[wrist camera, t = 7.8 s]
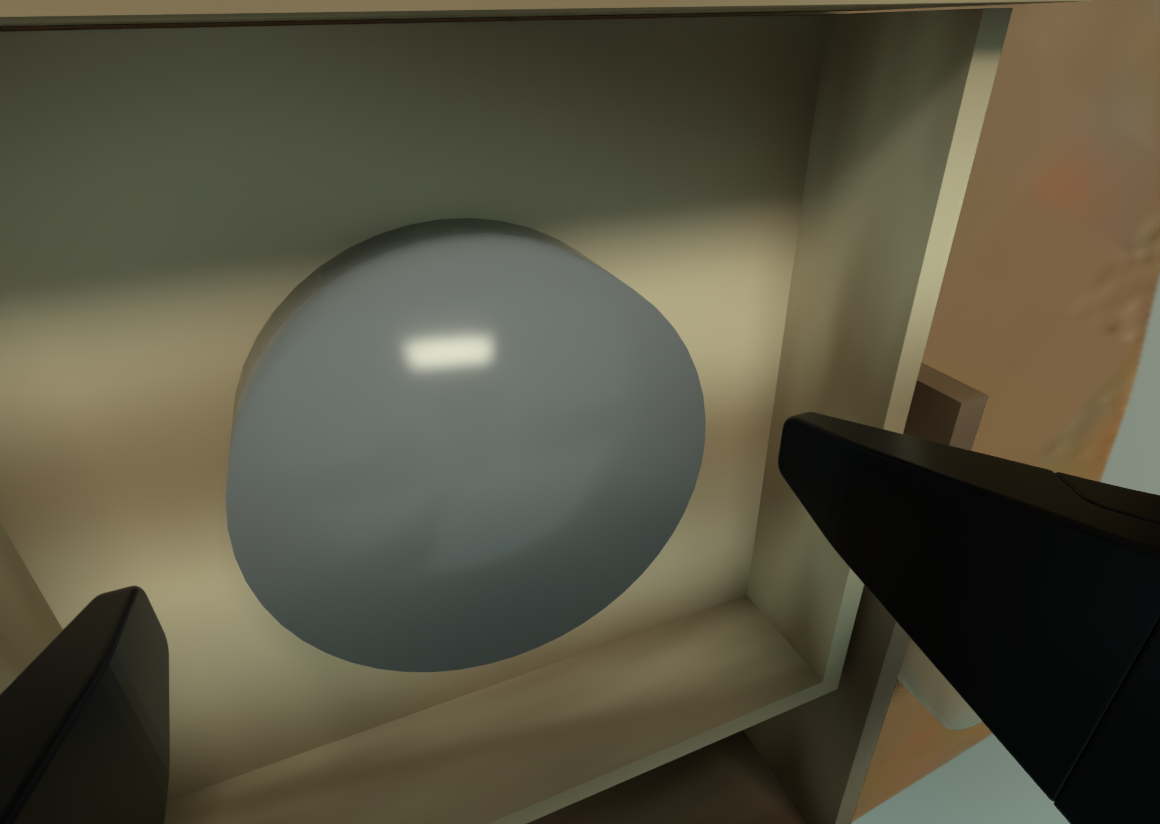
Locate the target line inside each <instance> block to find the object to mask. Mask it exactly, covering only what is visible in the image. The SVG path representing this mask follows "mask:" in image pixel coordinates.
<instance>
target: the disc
mask: <svg viewBox="0 0 1160 824" xmlns="http://www.w3.org/2000/svg"><path fill="white" fill-rule="evenodd" d="M705 426H706V416H705V407H704V397H703V392H702V388H701V384H700V380H699V377H698V373H697V370H696V367H695V365H694V363H693V361H692V358H691V356H690V354H689V351H688V349H687V347H686V346H685V344H684V343H683V341H682V339H681V338H680V336H679V335H678V333H677V332H676V330H675V328H674V327H673V326H672V325H671V324H670V323H669V321H668V320H667V319H666V318H665V317H664V316H663V315H662V314H661V312H660V311H659V310H658V309H657V308H656V307H655V306H654V305H652V304H651V303H650V302H649V301H647V300H646V299H645V298H644V297H642V296H641V295H640V294H639V293H637V292H636V291H635V290H634V289H632V288H631V287H629V286H628V285H626V284H625V283H624V282H622V281H621V280H619V279H618V278H616V277H615V276H613V275H612V274H611V273H609V272H608V271H606V270H605V269H603V268H602V267H601V266H599V265H598V264H596V263H595V262H593V261H592V260H590V259H589V258H588V257H586V256H585V255H583V254H582V253H580V252H579V251H577V250H575V249H574V248H572V247H570V246H569V245H567V244H565V243H563V242H562V241H560V240H558V239H557V238H554V237H552V236H549V235H547V234H544V233H542V232H539V231H537V230H534V229H532V228H529V227H524V226H520V225H516V224H512V223H508V222H504V221H496V220H486V219H476V218H461V219H440V220H434V221H428V222H422V223H416V224H410V225H407V226H403V227H400V228H397V229H394V230H391V231H387V232H384V233H381V234H378V235H376V236H373V237H371V238H369V239H367V240H365V241H363V242H361V243H358V244H356V245H354V246H352V247H350V248H348V249H346V250H345V251H343V252H341V253H340V254H338V255H337V256H335V257H333V258H332V259H330V260H329V261H327V262H326V263H324V264H323V265H321V266H320V267H318V268H317V269H316V270H315V271H314V272H312V273H311V274H310V275H309V276H308V277H307V278H305V279H304V280H303V281H302V282H301V283H300V284H298V285H297V286H296V287H295V288H294V289H293V290H292V291H291V292H290V293H289V295H288V296H287V297H286V298H285V299H284V300H283V301H282V302H281V304H280V305H279V306H278V307H277V308H276V309H275V310H274V312H273V313H272V314H271V316H270V317H269V319H268V321H267V322H266V324H265V325H264V327H263V328H262V330H261V331H260V333H259V334H258V336H257V337H256V339H255V341H254V343H253V346H252V348H251V350H250V352H249V354H248V357H247V359H246V361H245V363H244V365H243V368H242V372H241V376H240V379H239V383H238V386H237V390H236V393H235V401H234V410H233V419H232V430H231V441H230V453H229V464H228V476H227V487H226V513H227V528H228V532H229V536H230V540H231V544H232V548H233V552H234V556H235V559H236V561H237V563H238V565H239V568H240V570H241V572H242V574H243V576H244V579H245V581H246V583H247V584H248V586H249V587H250V589H251V590H252V591H253V593H254V594H255V596H256V597H257V599H258V600H259V602H260V603H261V605H262V606H263V607H264V608H265V609H266V610H267V611H268V612H269V613H270V614H271V615H272V616H273V617H274V618H275V619H276V620H277V621H278V622H279V623H280V624H281V625H282V626H284V627H285V628H286V629H288V630H289V631H290V632H292V633H293V634H294V635H296V636H297V637H298V638H300V639H301V640H302V641H304V642H306V643H308V644H310V645H312V646H314V647H316V648H317V649H319V650H321V651H323V652H325V653H327V654H330V655H332V656H335V657H338V658H340V659H343V660H346V661H349V662H351V663H355V664H359V665H364V666H368V667H372V668H376V669H384V670H392V671H401V672H441V671H452V670H461V669H466V668H472V667H477V666H482V665H487V664H491V663H494V662H498V661H501V660H505V659H508V658H512V657H515V656H517V655H520V654H523V653H525V652H528V651H531V650H533V649H536V648H538V647H540V646H542V645H544V644H547V643H549V642H551V641H553V640H555V639H557V638H559V637H561V636H563V635H565V634H566V633H568V632H570V631H571V630H573V629H575V628H576V627H578V626H580V625H582V624H583V623H585V622H586V621H588V620H589V619H590V618H592V617H593V616H595V615H596V614H598V613H599V612H600V611H602V610H603V609H605V608H606V607H607V606H608V605H609V604H611V603H612V602H613V601H614V600H615V599H617V598H618V597H619V596H620V595H621V594H623V593H624V592H625V591H626V590H627V589H628V588H629V587H630V586H631V585H632V584H633V583H634V582H635V581H636V580H637V579H638V578H639V577H640V576H641V575H642V574H643V573H644V571H645V570H646V569H647V568H648V567H649V565H650V564H651V563H652V562H653V561H654V559H655V558H656V557H657V556H658V555H659V553H660V552H661V550H662V549H663V547H664V546H665V545H666V543H667V542H668V540H669V539H670V537H671V536H672V534H673V533H674V531H675V529H676V527H677V525H678V524H679V522H680V520H681V518H682V516H683V514H684V513H685V510H686V508H687V506H688V503H689V501H690V499H691V496H692V494H693V491H694V489H695V485H696V482H697V478H698V475H699V472H700V468H701V464H702V457H703V451H704V445H705Z"/></svg>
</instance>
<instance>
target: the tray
mask: <svg viewBox="0 0 1160 824" xmlns="http://www.w3.org/2000/svg"><path fill="white" fill-rule="evenodd" d="M1077 1H1094V0H0V27H24V26H78V25H131V24H184V23H237V22H290V21H343V20H396V19H449V18H503V17H556V16H609V15H662V14H715V13H768V12H821V11H867V10H890V9H914V8H937V7H960V6H984V5H1007V4H1030V3H1053V2H1077ZM1012 9H1013V8H984V9H958V10H932V11H906V12H880V13H855V14H829V15H781V16H732V17H684V18H636V19H588V20H540V21H491V22H443V23H395V24H347V25H298V26H250V27H202V28H154V29H105V30H57V31H9V32H0V694H1V693H2V692H3V691H4V690H5V689H6V688H7V687H8V686H9V685H10V684H11V683H12V682H13V681H14V680H15V679H16V678H17V677H18V676H19V674H20V673H21V672H22V671H23V670H24V669H25V668H26V667H27V666H28V665H29V664H30V663H31V662H32V661H33V660H34V659H35V658H36V657H37V656H38V655H39V654H40V653H41V652H42V651H43V650H44V649H45V648H46V647H47V646H48V645H49V644H50V643H51V642H52V641H53V640H54V639H55V638H56V637H57V635H58V634H59V633H60V632H61V631H62V630H63V629H64V628H65V627H66V626H67V625H68V624H69V623H70V622H71V621H72V620H73V619H74V618H75V617H76V616H77V615H78V614H79V613H80V612H81V611H82V610H83V609H84V608H85V607H86V606H87V605H88V604H89V603H90V602H91V601H92V600H93V599H94V598H95V597H96V596H98V595H100V594H102V593H106V592H110V591H114V590H117V589H121V588H125V587H129V586H134V585H135V586H139V587H141V588H142V589H143V590H144V591H145V593H146V595H147V597H148V599H149V601H150V603H151V605H152V607H153V609H154V611H155V614H156V616H157V618H158V620H159V622H160V624H161V626H162V628H163V631H164V633H165V635H166V639H167V643H168V649H169V712H170V775H169V786H168V797H167V805H166V813H165V822H164V824H527V823H529V822H531V821H534V820H536V819H538V818H541V817H543V816H545V815H548V814H550V813H552V812H554V811H557V810H559V809H561V808H564V807H566V806H568V805H571V804H573V803H575V802H578V801H580V800H582V799H585V798H587V797H589V796H591V795H594V794H596V793H598V792H601V791H603V790H605V789H608V788H610V787H612V786H615V785H617V784H619V783H622V782H624V781H626V780H628V779H631V778H633V777H635V776H638V775H640V774H642V773H645V772H647V771H649V770H652V769H654V768H656V767H659V766H661V765H663V764H665V763H668V762H670V761H672V760H675V759H677V758H679V757H682V756H684V755H686V754H689V753H691V752H693V751H696V750H698V749H700V748H702V747H705V746H707V745H709V744H712V743H714V742H716V741H719V740H721V739H723V738H726V737H728V736H730V735H732V734H735V733H737V732H739V731H742V730H744V729H746V728H749V727H751V726H753V725H756V724H758V723H760V722H763V721H765V720H767V719H769V718H772V717H774V716H776V715H779V714H781V713H783V712H786V711H788V710H790V709H793V708H795V707H797V706H800V705H802V704H804V703H806V702H809V701H811V700H813V699H816V698H818V697H820V696H823V695H825V694H827V693H830V692H832V691H834V690H837V688H838V684H839V680H840V676H841V672H842V668H843V665H844V661H845V657H846V653H847V649H848V645H849V641H850V637H851V634H852V630H853V626H854V622H855V618H856V614H857V610H858V606H859V602H860V599H861V595H862V591H863V587H864V584H863V582H862V581H861V580H860V579H859V578H858V577H857V575H856V574H855V573H854V572H853V571H852V570H851V569H850V567H849V566H848V565H847V564H846V563H845V562H844V560H843V559H842V558H841V557H840V556H839V554H838V553H837V552H836V551H835V550H834V548H833V547H832V546H831V544H830V543H829V542H828V540H827V539H826V538H825V536H824V535H823V534H822V532H821V531H820V529H819V528H818V526H817V525H816V524H815V522H814V521H813V519H812V518H811V516H810V515H809V514H808V512H807V511H806V509H805V508H804V507H803V505H802V504H801V502H800V501H799V499H798V498H797V497H796V495H795V494H794V492H793V491H792V490H791V488H790V487H789V485H788V484H787V482H786V481H785V480H784V478H783V477H782V475H781V473H780V471H779V467H778V454H779V447H780V441H781V434H782V427H783V423H784V422H785V420H786V419H787V418H788V417H790V416H793V415H797V414H801V413H804V412H815V413H819V414H823V415H827V416H831V417H836V418H840V419H844V420H848V421H852V422H856V423H860V424H864V425H868V426H872V427H876V428H880V429H884V430H889V431H893V432H897V433H901V434H903V432H904V428H905V424H906V420H907V416H908V412H909V408H910V405H911V401H912V397H913V393H914V389H915V385H916V381H917V377H918V373H919V370H920V366H921V362H922V358H923V354H924V350H925V346H926V342H927V339H928V335H929V331H930V327H931V323H932V319H933V315H934V311H935V308H936V304H937V300H938V296H939V292H940V288H941V284H942V280H943V276H944V273H945V269H946V265H947V261H948V257H949V253H950V249H951V245H952V242H953V238H954V234H955V230H956V226H957V222H958V218H959V214H960V210H961V207H962V203H963V199H964V195H965V191H966V187H967V183H968V179H969V176H970V172H971V168H972V164H973V160H974V156H975V152H976V148H977V145H978V141H979V137H980V133H981V129H982V125H983V121H984V117H985V113H986V110H987V106H988V102H989V98H990V94H991V90H992V86H993V82H994V79H995V75H996V71H997V67H998V63H999V59H1000V55H1001V51H1002V47H1003V44H1004V40H1005V36H1006V32H1007V28H1008V24H1009V20H1010V16H1011V13H1012ZM461 218H476V219H486V220H496V221H504V222H508V223H512V224H516V225H520V226H524V227H529V228H532V229H534V230H537V231H539V232H542V233H544V234H547V235H549V236H552V237H554V238H557V239H558V240H560V241H562V242H563V243H565V244H567V245H569V246H570V247H572V248H574V249H575V250H577V251H579V252H580V253H582V254H583V255H585V256H586V257H588V258H589V259H590V260H592V261H593V262H595V263H596V264H598V265H599V266H601V267H602V268H603V269H605V270H606V271H608V272H609V273H611V274H612V275H613V276H615V277H616V278H618V279H619V280H621V281H622V282H624V283H625V284H626V285H628V286H629V287H631V288H632V289H634V290H635V291H636V292H637V293H639V294H640V295H641V296H642V297H644V298H645V299H646V300H647V301H649V302H650V303H651V304H652V305H654V306H655V307H656V308H657V309H658V310H659V311H660V312H661V314H662V315H663V316H664V317H665V318H666V319H667V320H668V321H669V323H670V324H671V325H672V326H673V327H674V328H675V330H676V332H677V333H678V335H679V336H680V338H681V339H682V341H683V343H684V344H685V346H686V347H687V349H688V351H689V354H690V356H691V358H692V361H693V363H694V365H695V367H696V370H697V373H698V377H699V380H700V384H701V388H702V392H703V397H704V407H705V416H706V426H705V445H704V451H703V457H702V464H701V468H700V472H699V475H698V478H697V482H696V485H695V489H694V491H693V494H692V496H691V499H690V501H689V503H688V506H687V508H686V510H685V513H684V514H683V516H682V518H681V520H680V522H679V524H678V525H677V527H676V529H675V531H674V533H673V534H672V536H671V537H670V539H669V540H668V542H667V543H666V545H665V546H664V547H663V549H662V550H661V552H660V553H659V555H658V556H657V557H656V558H655V559H654V561H653V562H652V563H651V564H650V565H649V567H648V568H647V569H646V570H645V571H644V573H643V574H642V575H641V576H640V577H639V578H638V579H637V580H636V581H635V582H634V583H633V584H632V585H631V586H630V587H629V588H628V589H627V590H626V591H625V592H624V593H623V594H621V595H620V596H619V597H618V598H617V599H615V600H614V601H613V602H612V603H611V604H609V605H608V606H607V607H606V608H605V609H603V610H602V611H600V612H599V613H598V614H596V615H595V616H593V617H592V618H590V619H589V620H588V621H586V622H585V623H583V624H582V625H580V626H578V627H576V628H575V629H573V630H571V631H570V632H568V633H566V634H565V635H563V636H561V637H559V638H557V639H555V640H553V641H551V642H549V643H547V644H544V645H542V646H540V647H538V648H536V649H533V650H531V651H528V652H525V653H523V654H520V655H517V656H515V657H512V658H508V659H505V660H501V661H498V662H494V663H491V664H487V665H482V666H477V667H472V668H466V669H461V670H452V671H441V672H401V671H392V670H384V669H376V668H372V667H368V666H364V665H359V664H355V663H351V662H349V661H346V660H343V659H340V658H338V657H335V656H332V655H330V654H327V653H325V652H323V651H321V650H319V649H317V648H316V647H314V646H312V645H310V644H308V643H306V642H304V641H302V640H301V639H300V638H298V637H297V636H296V635H294V634H293V633H292V632H290V631H289V630H288V629H286V628H285V627H284V626H282V625H281V624H280V623H279V622H278V621H277V620H276V619H275V618H274V617H273V616H272V615H271V614H270V613H269V612H268V611H267V610H266V609H265V608H264V607H263V606H262V605H261V603H260V602H259V600H258V599H257V597H256V596H255V594H254V593H253V591H252V590H251V589H250V587H249V586H248V584H247V583H246V581H245V579H244V576H243V574H242V572H241V570H240V568H239V565H238V563H237V561H236V559H235V556H234V552H233V548H232V544H231V540H230V536H229V532H228V528H227V513H226V487H227V476H228V464H229V453H230V441H231V430H232V419H233V410H234V401H235V393H236V390H237V386H238V383H239V379H240V376H241V372H242V368H243V365H244V363H245V361H246V359H247V357H248V354H249V352H250V350H251V348H252V346H253V343H254V341H255V339H256V337H257V336H258V334H259V333H260V331H261V330H262V328H263V327H264V325H265V324H266V322H267V321H268V319H269V317H270V316H271V314H272V313H273V312H274V310H275V309H276V308H277V307H278V306H279V305H280V304H281V302H282V301H283V300H284V299H285V298H286V297H287V296H288V295H289V293H290V292H291V291H292V290H293V289H294V288H295V287H296V286H297V285H298V284H300V283H301V282H302V281H303V280H304V279H305V278H307V277H308V276H309V275H310V274H311V273H312V272H314V271H315V270H316V269H317V268H318V267H320V266H321V265H323V264H324V263H326V262H327V261H329V260H330V259H332V258H333V257H335V256H337V255H338V254H340V253H341V252H343V251H345V250H346V249H348V248H350V247H352V246H354V245H356V244H358V243H361V242H363V241H365V240H367V239H369V238H371V237H373V236H376V235H378V234H381V233H384V232H387V231H391V230H394V229H397V228H400V227H403V226H407V225H410V224H416V223H422V222H428V221H434V220H440V219H461Z"/></svg>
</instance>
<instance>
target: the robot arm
mask: <svg viewBox="0 0 1160 824" xmlns="http://www.w3.org/2000/svg"><path fill="white" fill-rule="evenodd" d="M778 467H779V471H780V473H781V475H782V477H783V478H784V480H785V481H786V482H787V484H788V485H789V487H790V488H791V490H792V491H793V492H794V494H795V495H796V497H797V498H798V499H799V501H800V502H801V504H802V505H803V507H804V508H805V509H806V511H807V512H808V514H809V515H810V516H811V518H812V519H813V521H814V522H815V524H816V525H817V526H818V528H819V529H820V531H821V532H822V534H823V535H824V536H825V538H826V539H827V540H828V542H829V543H830V544H831V546H832V547H833V548H834V550H835V551H836V552H837V553H838V554H839V556H840V557H841V558H842V559H843V560H844V562H845V563H846V564H847V565H848V566H849V567H850V569H851V570H852V571H853V572H854V573H855V574H856V575H857V577H858V578H859V579H860V580H861V581H862V582H863V584H864V585H865V586H866V587H867V588H868V589H869V591H870V592H871V593H872V594H873V595H874V596H875V597H876V599H877V600H878V601H879V602H880V603H881V604H882V606H883V607H884V608H885V609H886V610H887V611H888V613H889V614H890V615H891V616H892V617H893V618H894V619H895V621H896V622H897V623H898V624H899V625H900V626H901V628H902V629H903V630H904V631H905V632H906V633H907V635H908V636H909V637H910V638H911V639H912V640H913V641H914V643H915V644H916V645H917V646H918V647H919V648H920V650H921V651H922V652H923V653H924V654H925V655H926V657H927V658H928V659H929V660H930V661H931V662H932V663H933V665H934V666H935V667H936V668H937V669H938V670H939V672H940V673H941V674H942V675H943V676H944V677H945V678H946V680H947V681H948V682H949V683H950V684H951V685H952V687H953V688H954V689H955V690H956V691H957V692H958V694H959V695H960V696H961V697H962V698H963V699H964V700H965V702H966V703H967V704H968V705H969V706H970V707H971V709H972V710H973V711H974V712H975V713H976V714H977V716H978V717H979V718H980V719H981V720H982V721H983V722H984V724H985V725H986V726H987V727H988V728H989V729H990V731H991V732H992V733H993V734H994V735H995V736H996V738H997V739H998V740H999V741H1000V742H1001V743H1002V744H1003V746H1004V747H1005V748H1006V749H1007V750H1008V751H1009V753H1010V754H1011V755H1012V756H1013V757H1014V758H1015V759H1016V761H1017V762H1018V763H1019V764H1020V765H1021V766H1022V768H1023V769H1024V770H1025V771H1026V772H1027V773H1028V774H1029V776H1030V777H1031V778H1032V779H1033V780H1034V782H1035V783H1036V784H1037V785H1038V786H1039V787H1040V788H1041V790H1042V791H1043V792H1044V793H1045V794H1046V795H1047V797H1048V798H1049V799H1050V800H1051V801H1054V805H1055V806H1056V808H1057V809H1058V810H1059V811H1060V812H1061V813H1062V815H1063V816H1064V817H1065V818H1066V819H1067V820H1068V822H1069V823H1070V824H1160V495H1155V494H1151V493H1146V492H1141V491H1136V490H1132V489H1127V488H1123V487H1119V486H1115V485H1110V484H1106V483H1102V482H1097V481H1093V480H1089V479H1085V478H1081V477H1076V476H1072V475H1068V474H1064V473H1060V472H1057V473H1054V472H1053V471H1051V470H1048V469H1043V468H1039V467H1035V466H1031V465H1027V464H1023V463H1019V462H1015V461H1011V460H1007V459H1003V458H999V457H995V456H990V455H986V454H982V453H978V452H974V451H970V450H966V449H962V448H958V447H954V446H950V445H946V444H942V443H937V442H933V441H929V440H925V439H921V438H917V437H913V436H909V435H905V434H901V433H897V432H893V431H889V430H884V429H880V428H876V427H872V426H868V425H864V424H860V423H856V422H852V421H848V420H844V419H840V418H836V417H831V416H827V415H823V414H819V413H815V412H804V413H801V414H797V415H793V416H790V417H788V418H787V419H786V420H785V422H784V423H783V427H782V434H781V441H780V447H779V454H778ZM169 775H170V712H169V649H168V643H167V639H166V635H165V633H164V631H163V628H162V626H161V624H160V622H159V620H158V618H157V616H156V614H155V611H154V609H153V607H152V605H151V603H150V601H149V599H148V597H147V595H146V593H145V591H144V590H143V589H142V588H141V587H139V586H135V585H134V586H129V587H125V588H121V589H117V590H114V591H110V592H106V593H102V594H100V595H98V596H96V597H95V598H94V599H93V600H92V601H91V602H90V603H89V604H88V605H87V606H86V607H85V608H84V609H83V610H82V611H81V612H80V613H79V614H78V615H77V616H76V617H75V618H74V619H73V620H72V621H71V622H70V623H69V624H68V625H67V626H66V627H65V628H64V629H63V630H62V631H61V632H60V633H59V634H58V635H57V637H56V638H55V639H54V640H53V641H52V642H51V643H50V644H49V645H48V646H47V647H46V648H45V649H44V650H43V651H42V652H41V653H40V654H39V655H38V656H37V657H36V658H35V659H34V660H33V661H32V662H31V663H30V664H29V665H28V666H27V667H26V668H25V669H24V670H23V671H22V672H21V673H20V674H19V676H18V677H17V678H16V679H15V680H14V681H13V682H12V683H11V684H10V685H9V686H8V687H7V688H6V689H5V690H4V691H3V692H2V693H1V694H0V824H164V822H165V813H166V805H167V797H168V786H169Z"/></svg>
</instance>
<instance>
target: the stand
mask: <svg viewBox="0 0 1160 824" xmlns="http://www.w3.org/2000/svg"><path fill="white" fill-rule="evenodd" d="M898 680H899V681H900V682H901V683H902V684H903V685H904V686H905V687H906V688H907V689H908V690H909V691H910V692H911V693H912V694H913V695H914V696H915V697H916V698H917V699H918V700H919V701H920V702H921V703H922V704H923V705H924V706H925V707H926V708H927V709H928V710H929V711H930V712H931V713H932V714H933V715H934V716H935V717H936V718H937V719H938V720H939V721H940V722H941V723H942V724H943V725H944V726H945V727H946V728H948V729H951V730H961V729H965V728H968V727H971V726H974V725H976V724H978V723H980V722H982V720H981V719H980V718H979V717H978V716H977V714H976V713H975V712H974V711H973V710H972V709H971V707H970V706H969V705H968V704H967V703H966V702H965V700H964V699H963V698H962V697H961V696H960V695H959V694H958V692H957V691H956V690H955V689H954V688H953V687H952V685H951V684H950V683H949V682H948V681H947V680H946V678H945V677H944V676H943V675H942V674H941V673H940V672H939V670H938V669H937V668H936V667H935V666H934V665H933V663H932V662H931V661H930V660H929V659H928V658H927V657H926V655H925V654H924V653H923V652H922V651H921V650H920V648H919V647H918V646H917V645H916V644H915V643H914V641H913V640H912V639H911V638H910V641H909V644H908V648H907V651H906V654H905V657H904V660H903V663H902V666H901V669H900V672H899V675H898Z"/></svg>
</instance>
